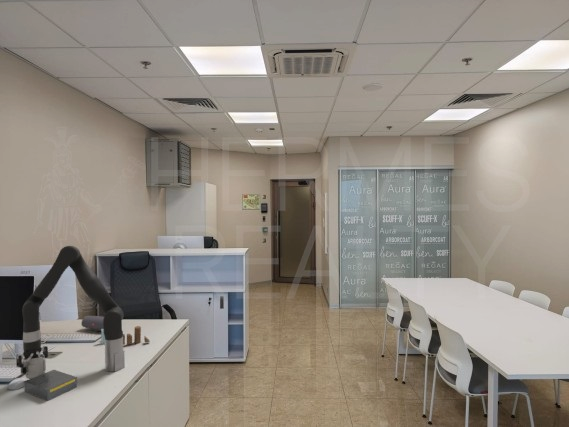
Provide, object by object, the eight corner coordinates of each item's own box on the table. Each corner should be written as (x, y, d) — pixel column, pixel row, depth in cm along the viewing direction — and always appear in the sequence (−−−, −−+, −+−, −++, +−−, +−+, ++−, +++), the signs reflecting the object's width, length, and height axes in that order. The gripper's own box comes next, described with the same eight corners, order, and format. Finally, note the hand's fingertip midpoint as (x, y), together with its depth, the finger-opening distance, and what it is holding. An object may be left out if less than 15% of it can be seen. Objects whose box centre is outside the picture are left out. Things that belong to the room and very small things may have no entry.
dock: (77, 387, 176) (77, 377, 176) (47, 400, 164) (47, 390, 163) (53, 379, 185) (53, 369, 184) (24, 391, 172) (24, 381, 172)
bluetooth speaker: (80, 330, 258) (80, 317, 258) (91, 326, 267) (90, 313, 267) (105, 333, 252) (105, 319, 252) (115, 329, 261) (115, 315, 261)
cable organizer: (26, 375, 185) (25, 355, 185) (48, 373, 186) (47, 353, 186) (19, 380, 180) (18, 360, 179) (42, 379, 181) (41, 358, 180)
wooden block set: (119, 349, 224) (119, 333, 223) (118, 343, 231) (119, 328, 231) (149, 344, 232) (150, 329, 232) (148, 339, 240) (148, 324, 239)
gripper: (20, 345, 174) (21, 378, 175) (50, 335, 187) (51, 366, 187) (12, 342, 178) (13, 375, 178) (42, 333, 190) (43, 363, 191)
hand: (33, 370), depth 183 cm, fingers closed on cable organizer, 7 cm apart
